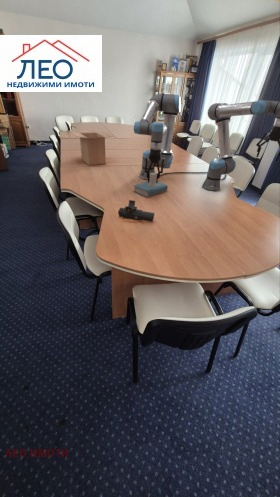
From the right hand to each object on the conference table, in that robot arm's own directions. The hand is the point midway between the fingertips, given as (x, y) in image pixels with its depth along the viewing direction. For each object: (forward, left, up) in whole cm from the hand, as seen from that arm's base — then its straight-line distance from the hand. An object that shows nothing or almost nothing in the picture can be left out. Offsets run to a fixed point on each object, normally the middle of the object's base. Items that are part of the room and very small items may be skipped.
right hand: (266, 158), depth 162 cm
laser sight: (+96, -43, -31) cm, 110 cm away
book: (+52, -65, -31) cm, 89 cm away
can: (+61, -58, -21) cm, 86 cm away
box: (+32, -158, -31) cm, 164 cm away
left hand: (+61, -58, -19) cm, 86 cm away
